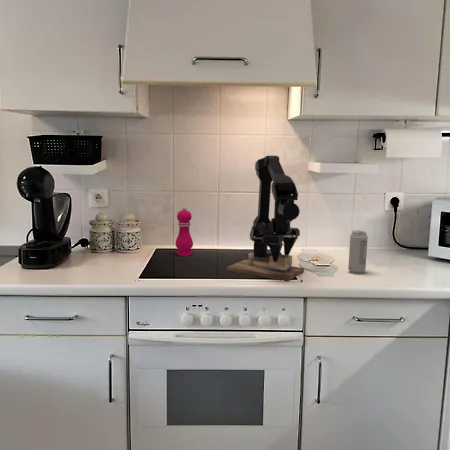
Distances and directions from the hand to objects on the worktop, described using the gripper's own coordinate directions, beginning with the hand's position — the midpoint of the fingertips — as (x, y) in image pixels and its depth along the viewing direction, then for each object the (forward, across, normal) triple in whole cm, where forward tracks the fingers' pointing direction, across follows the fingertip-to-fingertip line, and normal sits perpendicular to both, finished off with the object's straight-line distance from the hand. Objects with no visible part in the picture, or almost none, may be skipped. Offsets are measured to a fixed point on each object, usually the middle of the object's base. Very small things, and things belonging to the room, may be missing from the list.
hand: (280, 259), depth 174 cm
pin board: (+6, 0, -6) cm, 8 cm away
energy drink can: (+6, -18, +22) cm, 29 cm away
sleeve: (+4, 0, 0) cm, 4 cm away
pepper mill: (+6, -5, -46) cm, 47 cm away
